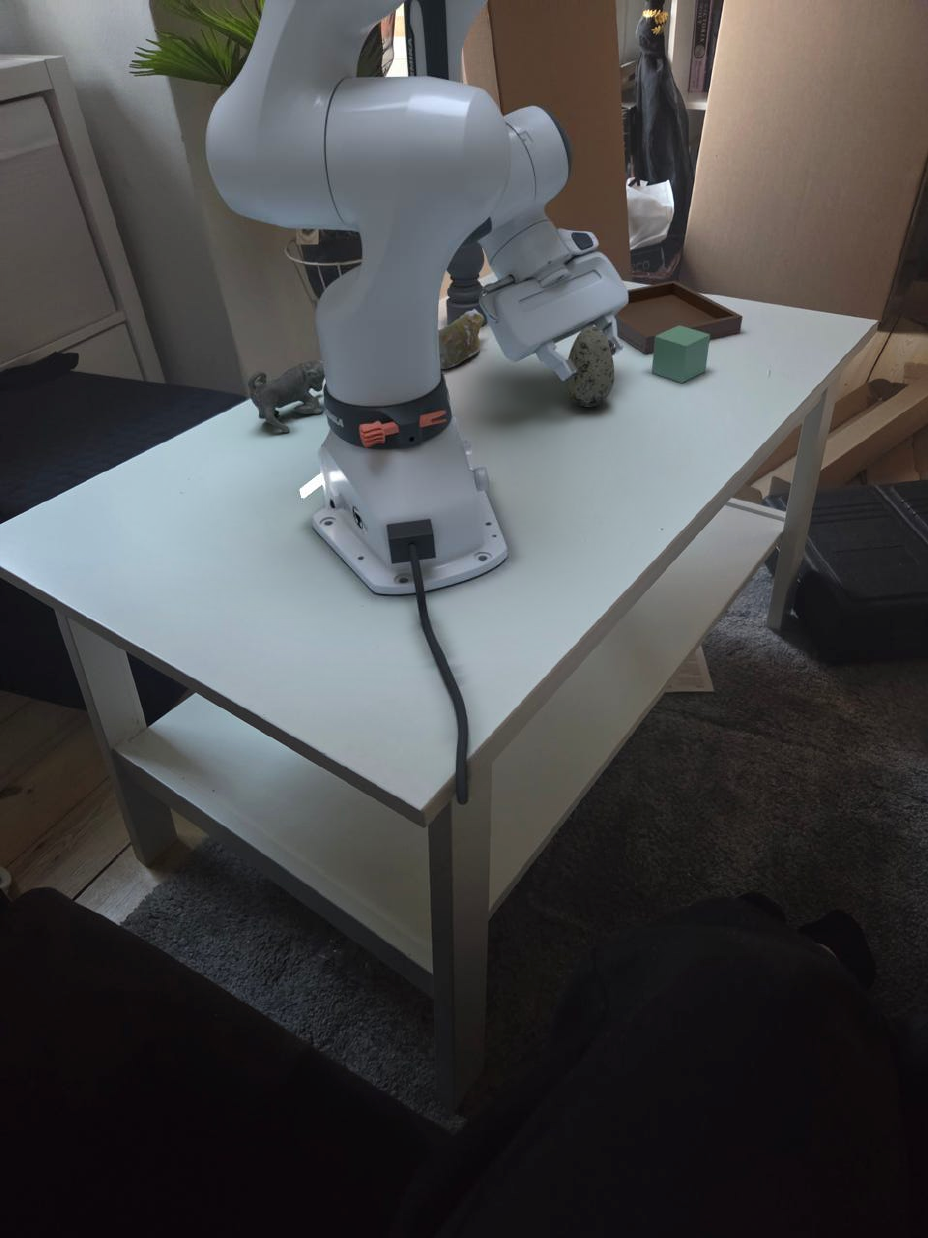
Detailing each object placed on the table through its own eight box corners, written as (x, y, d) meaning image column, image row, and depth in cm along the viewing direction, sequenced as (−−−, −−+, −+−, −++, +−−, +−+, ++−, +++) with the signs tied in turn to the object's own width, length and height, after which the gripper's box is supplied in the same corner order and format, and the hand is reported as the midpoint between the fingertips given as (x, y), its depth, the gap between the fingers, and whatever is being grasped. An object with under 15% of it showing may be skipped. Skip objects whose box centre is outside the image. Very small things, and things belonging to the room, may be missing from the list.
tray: (740, 332, 121) (742, 315, 119) (645, 354, 117) (646, 337, 115) (673, 295, 133) (674, 280, 132) (585, 313, 130) (586, 298, 128)
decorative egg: (602, 391, 109) (606, 314, 102) (619, 411, 104) (624, 331, 98) (558, 398, 108) (559, 321, 101) (573, 418, 103) (575, 339, 97)
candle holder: (494, 318, 130) (488, 135, 114) (473, 332, 127) (464, 144, 111) (461, 312, 133) (450, 132, 117) (439, 325, 129) (425, 142, 113)
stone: (399, 326, 112) (467, 285, 121) (396, 366, 117) (461, 324, 126) (440, 350, 110) (506, 307, 119) (435, 390, 115) (499, 346, 124)
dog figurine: (275, 439, 104) (262, 382, 99) (247, 426, 107) (233, 370, 102) (347, 403, 110) (339, 348, 105) (319, 392, 113) (309, 338, 109)
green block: (705, 371, 111) (710, 334, 108) (682, 383, 109) (686, 346, 106) (675, 361, 114) (678, 324, 111) (651, 372, 112) (654, 336, 109)
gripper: (485, 273, 93) (550, 380, 94) (602, 229, 104) (660, 325, 104) (460, 305, 99) (522, 406, 100) (573, 260, 109) (629, 351, 110)
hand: (593, 364), depth 102 cm, fingers open, 7 cm apart
